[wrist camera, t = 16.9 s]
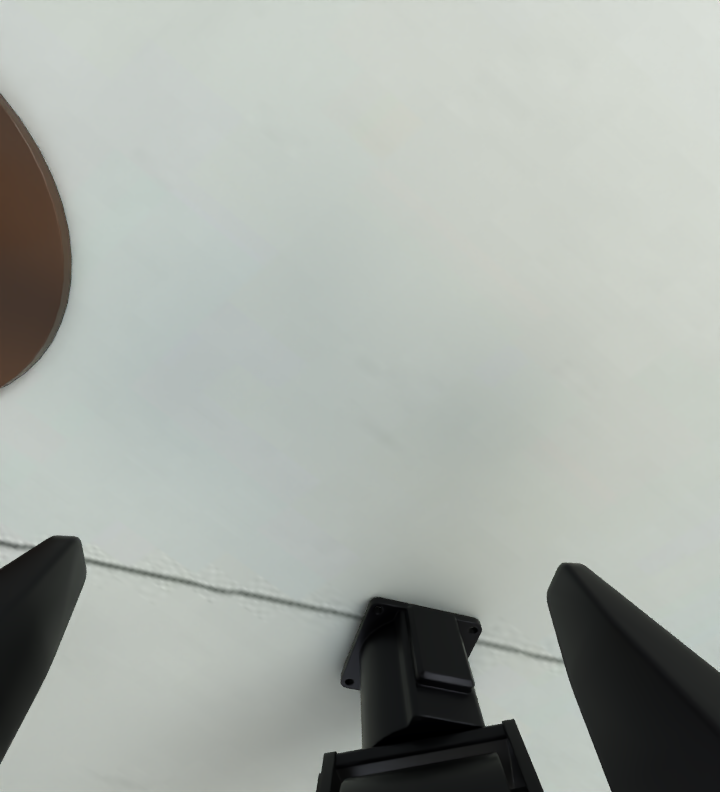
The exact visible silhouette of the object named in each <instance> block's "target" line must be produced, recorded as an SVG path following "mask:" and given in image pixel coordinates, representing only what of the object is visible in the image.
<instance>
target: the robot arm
mask: <svg viewBox="0 0 720 792" xmlns="http://www.w3.org/2000/svg"><path fill="white" fill-rule="evenodd" d="M85 579H86V564H85V559H84V554H83V548H82V543H81V540H80V539H79V538H78V537H75V536H58V535H57V536H52V537H50V538H48V539H46V540H45V541H43V542H42V543H40V544H38V545H37V546H35V547H34V548H32V549H31V550H29V551H28V552H26V553H24V554H23V555H21V556H20V557H18V558H17V559H15V560H14V561H12V562H10V563H9V564H7V565H6V566H4V567H3V568H1V569H0V764H1V762H2V760H3V758H4V756H5V754H6V752H7V750H8V748H9V747H10V745H11V743H12V741H13V739H14V737H15V735H16V733H17V731H18V729H19V727H20V726H21V724H22V722H23V720H24V718H25V716H26V714H27V712H28V710H29V708H30V706H31V705H32V703H33V701H34V699H35V697H36V695H37V693H38V691H39V689H40V687H41V685H42V683H43V681H44V679H45V677H46V675H47V673H48V671H49V669H50V666H51V664H52V662H53V659H54V657H55V655H56V652H57V650H58V647H59V645H60V642H61V640H62V637H63V635H64V632H65V630H66V627H67V625H68V622H69V620H70V618H71V615H72V613H73V610H74V608H75V605H76V603H77V600H78V598H79V595H80V593H81V590H82V588H83V585H84V583H85ZM547 603H548V607H549V611H550V614H551V618H552V621H553V625H554V629H555V632H556V636H557V639H558V643H559V646H560V650H561V653H562V657H563V661H564V664H565V668H566V671H567V674H568V678H569V681H570V684H571V687H572V689H573V692H574V695H575V698H576V700H577V703H578V706H579V708H580V711H581V713H582V716H583V719H584V721H585V724H586V726H587V729H588V732H589V734H590V737H591V739H592V742H593V745H594V747H595V750H596V752H597V755H598V758H599V760H600V763H601V765H602V768H603V771H604V773H605V776H606V778H607V781H608V784H609V786H610V789H611V791H612V792H720V672H718V671H717V670H716V669H715V668H713V667H712V666H711V665H710V664H708V663H707V662H706V661H705V660H703V659H702V658H701V657H700V656H698V655H697V654H696V653H695V652H693V651H692V650H691V649H689V648H688V647H687V646H686V645H684V644H683V643H682V642H681V641H679V640H678V639H677V638H676V637H674V636H673V635H672V634H671V633H669V632H668V631H667V630H666V629H664V628H663V627H662V626H661V625H659V624H658V623H657V622H655V621H654V620H653V619H652V618H650V617H649V616H648V615H647V614H645V613H644V612H643V611H642V610H640V609H639V608H638V607H637V606H635V605H634V604H633V603H632V602H630V601H629V600H628V599H626V598H625V597H624V596H623V595H621V594H620V593H619V592H618V591H616V590H615V589H614V588H613V587H611V586H610V585H609V584H608V583H606V582H605V581H604V580H603V579H601V578H600V577H599V576H598V575H596V574H595V573H594V572H592V571H591V570H590V569H589V568H587V567H586V566H585V565H583V564H579V563H562V564H561V565H559V567H558V568H557V571H556V573H555V575H554V577H553V579H552V582H551V584H550V586H549V588H548V591H547ZM375 607H380V608H375ZM471 627H473V628H471ZM481 632H482V628H481V625H480V622H479V620H478V619H476V618H473V617H468V616H464V615H459V614H454V613H450V612H445V611H441V610H436V609H431V608H427V607H422V606H418V605H413V604H408V603H404V602H399V601H395V600H390V599H385V598H381V597H376V598H373V599H371V600H370V602H369V604H368V606H367V609H366V611H365V614H364V616H363V619H362V622H361V624H360V627H359V629H358V632H357V634H356V637H355V639H354V642H353V645H352V647H351V650H350V652H349V655H348V657H347V660H346V662H345V665H344V667H343V670H342V673H341V685H342V686H343V687H346V688H350V689H355V690H360V694H361V724H362V749H360V750H354V751H349V752H343V753H338V754H337V752H336V751H335V752H330V753H325V754H324V758H323V764H322V770H321V773H319V777H318V783H317V790H316V792H544V791H543V789H542V786H541V784H540V781H539V779H538V776H537V774H536V772H535V769H534V767H533V764H532V762H531V759H530V757H529V754H528V752H527V750H526V747H525V745H524V742H523V740H522V737H521V735H520V732H519V730H518V728H517V725H516V723H515V720H514V719H511V720H505V721H502V724H497V725H492V726H486V727H485V724H484V721H483V717H482V714H481V710H480V707H479V703H478V699H477V696H476V692H475V689H474V686H475V682H474V679H473V675H472V672H471V668H470V665H469V661H468V657H469V655H470V653H471V651H472V649H473V648H474V646H475V644H476V642H477V640H478V638H479V636H480V634H481Z"/></svg>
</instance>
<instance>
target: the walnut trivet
mask: <svg viewBox="0 0 720 792" xmlns="http://www.w3.org/2000/svg"><path fill="white" fill-rule="evenodd" d="M70 284H71V247H70V239H69V230H68V226H67V222H66V217H65V213H64V209H63V205H62V202H61V199H60V196H59V193H58V191H57V188H56V185H55V182H54V180H53V177H52V175H51V173H50V170H49V168H48V166H47V164H46V162H45V160H44V158H43V156H42V154H41V152H40V150H39V148H38V146H37V145H36V143H35V142H34V140H33V138H32V137H31V135H30V134H29V132H28V130H27V129H26V127H25V126H24V124H23V122H22V121H21V120H20V118H19V117H18V116H17V114H16V113H15V112H14V110H13V109H12V108H11V107H10V105H9V104H8V103H7V101H6V100H5V99H4V98H3V96H2V95H1V94H0V388H2V387H4V386H6V385H8V384H10V383H11V382H13V381H14V380H16V379H17V378H18V377H20V376H21V375H23V374H24V373H26V372H27V371H28V370H29V369H30V368H31V367H32V366H33V365H34V364H35V363H36V362H37V361H38V360H39V359H40V357H41V356H42V355H43V353H44V352H45V351H46V349H47V348H48V346H49V345H50V344H51V342H52V340H53V338H54V336H55V334H56V332H57V330H58V328H59V326H60V324H61V322H62V319H63V315H64V312H65V309H66V306H67V303H68V296H69V290H70Z"/></svg>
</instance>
